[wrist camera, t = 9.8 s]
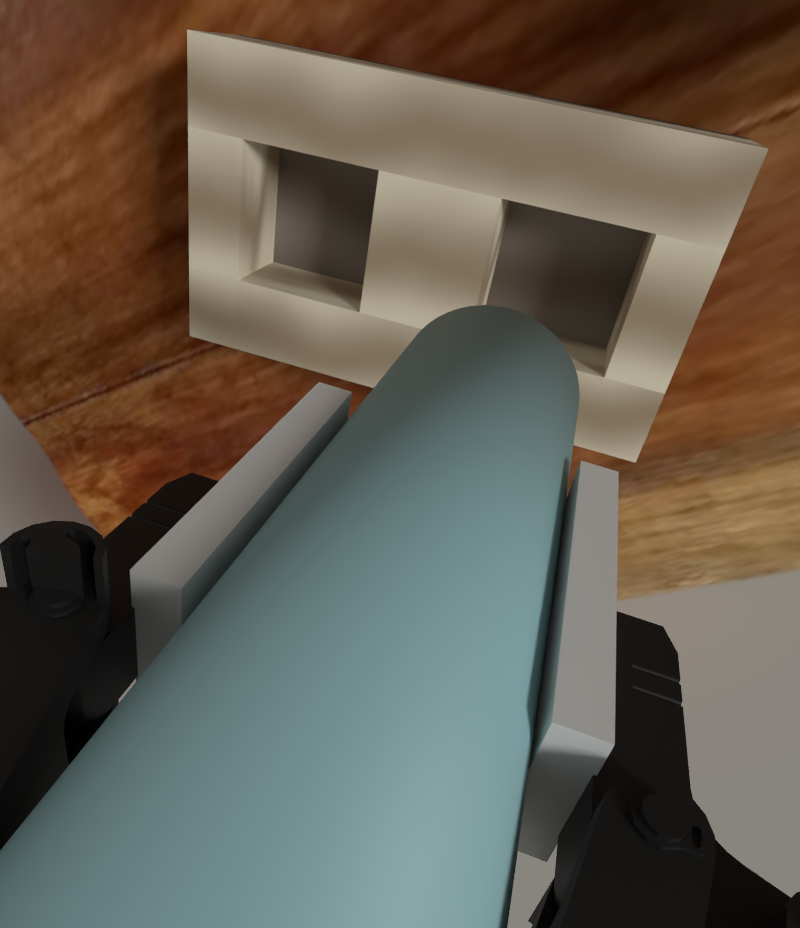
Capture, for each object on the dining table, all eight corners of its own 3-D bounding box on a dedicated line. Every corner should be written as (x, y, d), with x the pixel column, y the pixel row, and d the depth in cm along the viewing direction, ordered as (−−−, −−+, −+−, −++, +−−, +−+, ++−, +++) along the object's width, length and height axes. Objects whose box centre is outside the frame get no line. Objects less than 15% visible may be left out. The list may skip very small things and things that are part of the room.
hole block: (243, 35, 33) (187, 29, 28) (747, 138, 29) (768, 148, 25) (234, 309, 40) (189, 335, 36) (634, 418, 36) (635, 462, 32)
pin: (416, 283, 17) (-273, 962, 4) (606, 334, 17) (538, 1369, 3) (385, 445, 20) (-89, 1174, 7) (548, 495, 19) (379, 1424, 6)
